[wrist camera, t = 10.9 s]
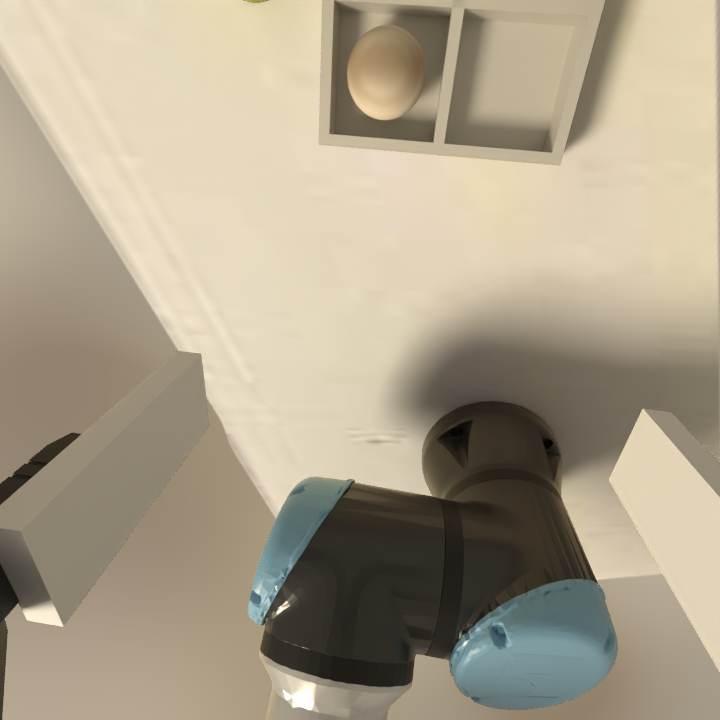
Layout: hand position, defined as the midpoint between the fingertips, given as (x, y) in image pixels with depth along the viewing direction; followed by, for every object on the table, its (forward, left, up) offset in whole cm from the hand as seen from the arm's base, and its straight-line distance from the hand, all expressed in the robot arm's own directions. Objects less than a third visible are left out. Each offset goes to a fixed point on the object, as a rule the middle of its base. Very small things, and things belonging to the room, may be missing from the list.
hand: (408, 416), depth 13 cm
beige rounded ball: (+12, +3, -28) cm, 30 cm away
